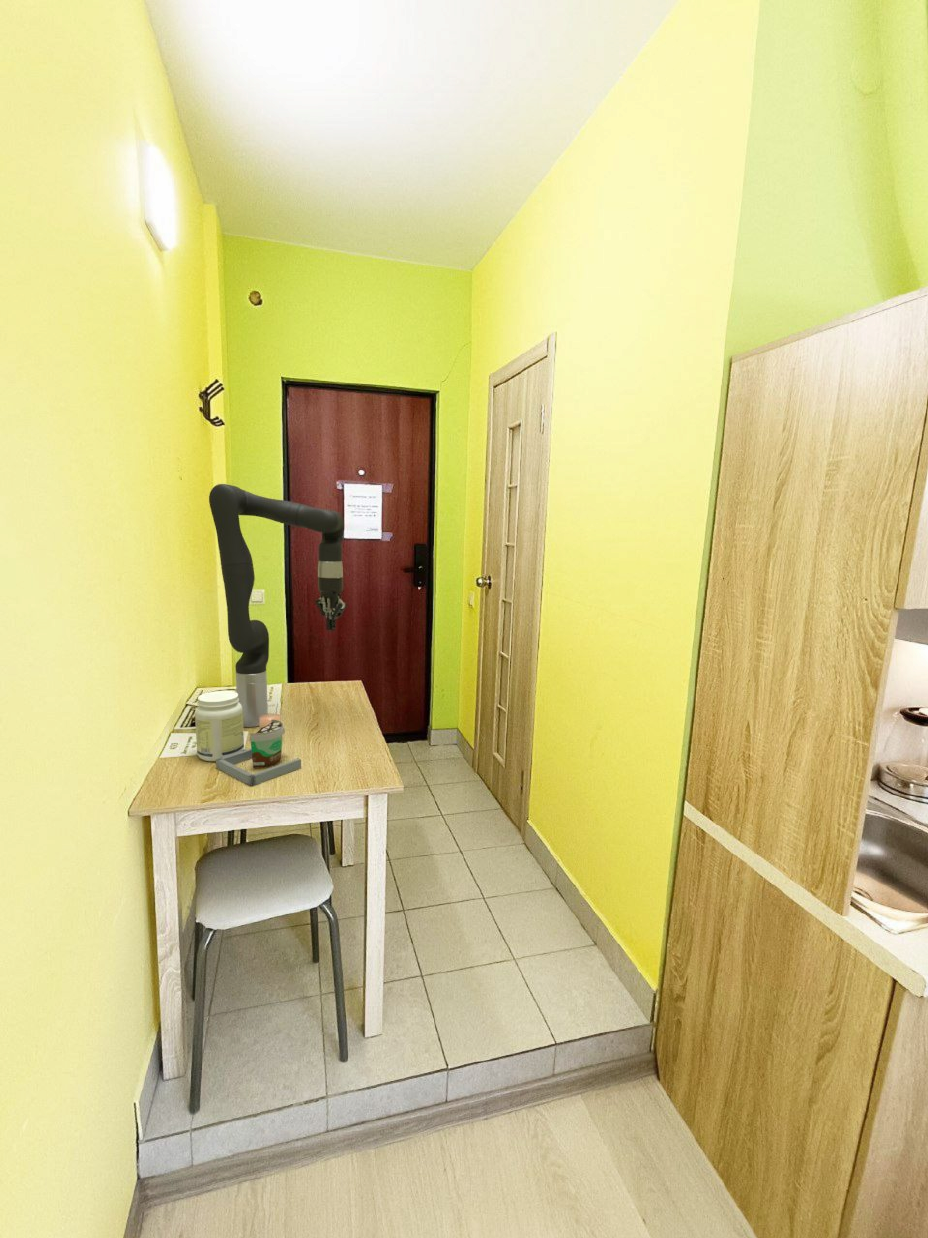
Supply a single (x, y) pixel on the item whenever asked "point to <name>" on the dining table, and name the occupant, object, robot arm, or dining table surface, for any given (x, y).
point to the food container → (267, 745)
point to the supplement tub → (219, 725)
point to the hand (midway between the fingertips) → (331, 630)
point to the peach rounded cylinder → (268, 719)
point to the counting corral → (254, 779)
